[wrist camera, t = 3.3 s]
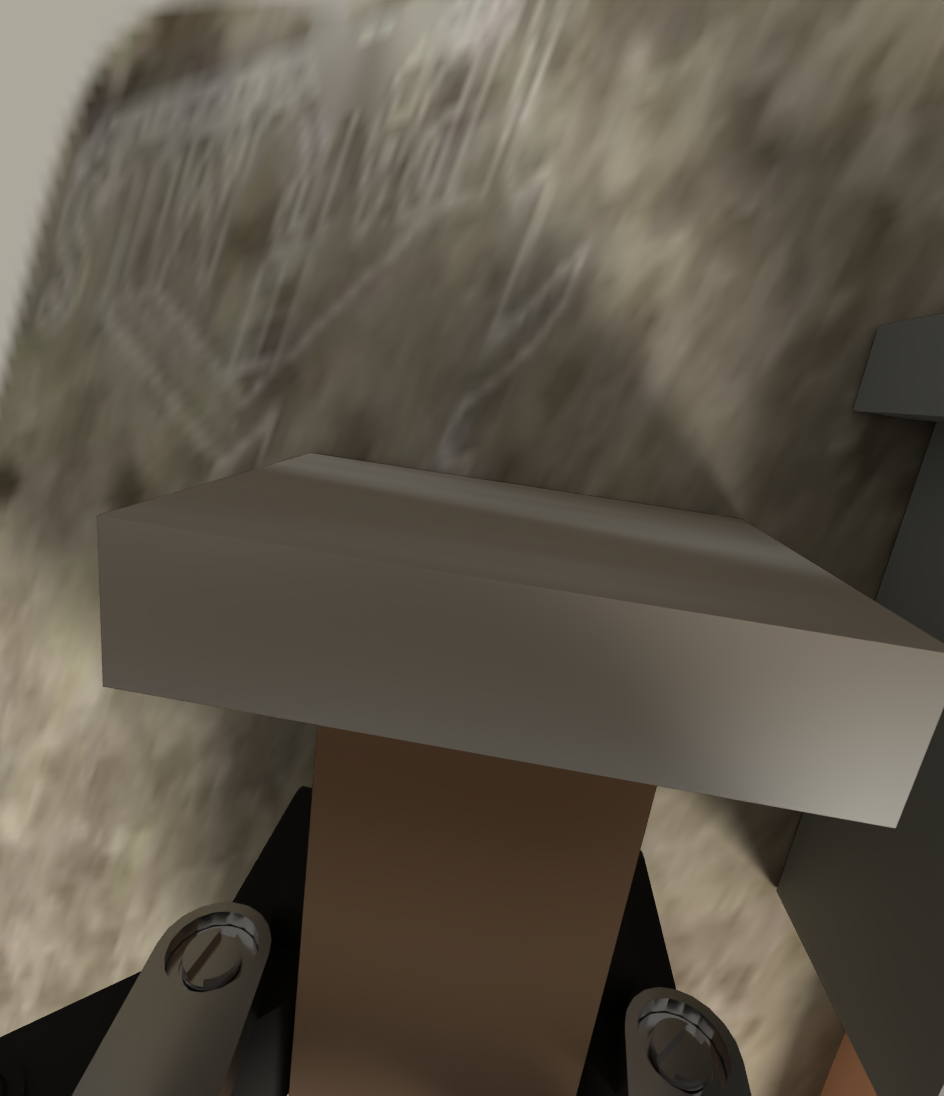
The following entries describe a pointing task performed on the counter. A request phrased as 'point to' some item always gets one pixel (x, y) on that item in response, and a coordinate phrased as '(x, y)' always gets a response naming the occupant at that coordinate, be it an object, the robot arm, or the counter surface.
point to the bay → (930, 810)
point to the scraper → (500, 729)
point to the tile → (847, 1074)
